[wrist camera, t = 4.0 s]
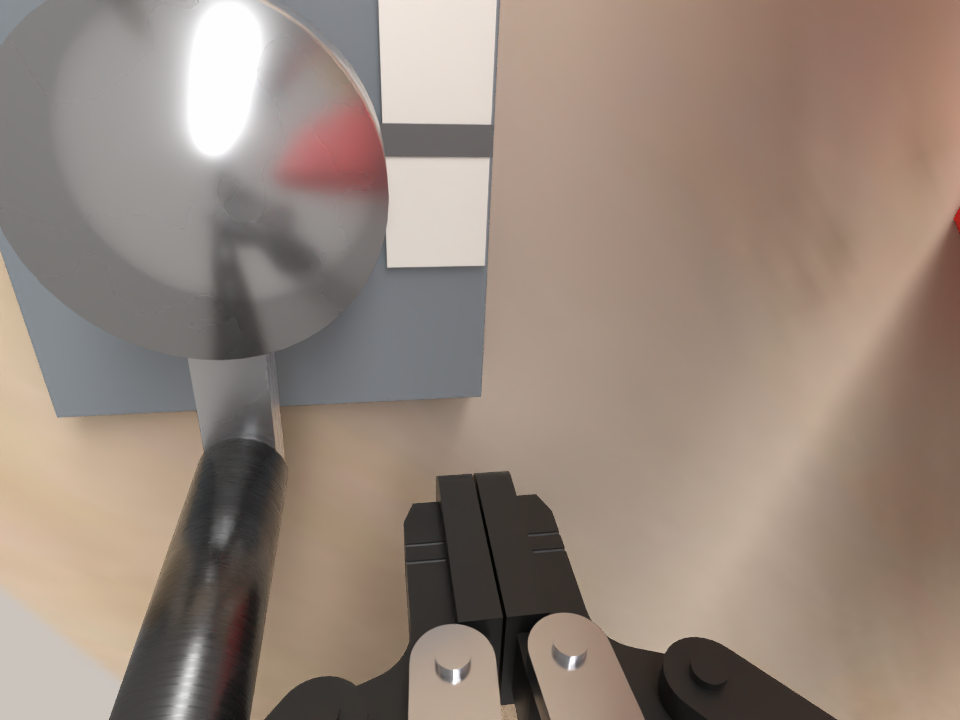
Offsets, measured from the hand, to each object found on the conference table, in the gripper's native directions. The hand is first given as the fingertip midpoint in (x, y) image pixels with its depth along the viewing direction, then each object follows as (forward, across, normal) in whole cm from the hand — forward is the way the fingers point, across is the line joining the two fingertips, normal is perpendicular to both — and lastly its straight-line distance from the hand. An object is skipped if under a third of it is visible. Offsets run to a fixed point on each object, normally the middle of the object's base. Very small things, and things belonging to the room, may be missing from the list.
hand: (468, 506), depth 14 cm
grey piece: (+3, +4, -6) cm, 8 cm away
